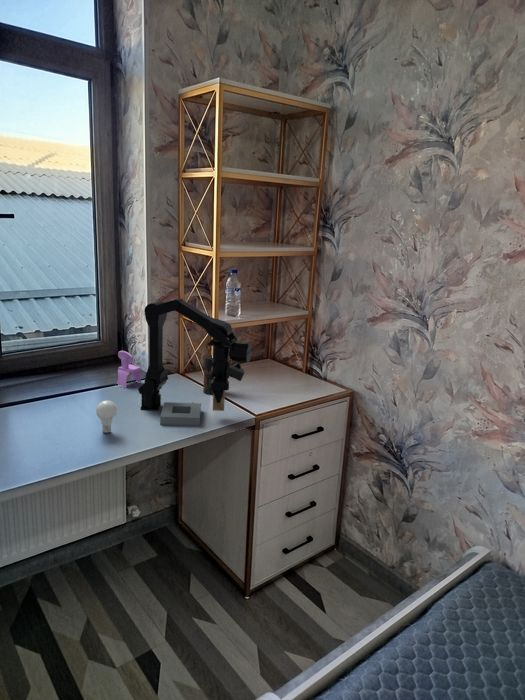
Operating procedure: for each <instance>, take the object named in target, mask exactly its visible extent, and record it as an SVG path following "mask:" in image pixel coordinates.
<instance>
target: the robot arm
mask: <svg viewBox="0 0 525 700" xmlns="http://www.w3.org/2000/svg"><path fill="white" fill-rule="evenodd" d="M174 311H175V312H177V313H178V314H180V315H182V317H185V318H186V319H188V320H189V321H191V322H193V323H195V324H196V325H198V326H199V327H201V328H203V330H205V332H206V333H207V334H208V336H210V337H211V340H210V341H209V342H207V344H206V345H207V346H209V347H210V346H211V347H212V355H213V358H212V368H211V375H212V377H211V387H210V389H211V390H212V391H213V393H214V396H215V398H216V401H217V403H220V402H221V398H222V395H223V391H224V390H225V391H229V389H230V381H229V379H230V378H232V379H235V380H237V381H239V382H241V381H242V380H243V378H244V375H245V370H244V368H242V366H241V363H246V364H248V363H249V362H250V361H251V358H252V348H251V343H250V342H242V341H239V340H238V338H237V337H236V335H235V334H234V332H233V328H232V327H233V326H232V325H231V324H230V323H229V322H227V321H224V320H221V319H218V318H214V317H211V316H210V315H208V314H207V313H204V312H203V311H202V310H200V309H198V308H197V307H195V306H193V305H192V304H190V303H188V302H186V301H185V300H184V299H183V298H181V297H177V298H174V299H172V300H168V301H165V302H163V301H162V300H156V301H153V302H151V303H149V304H146V306H145V308H144V311H143V312H144V316H145V321H146V324H147V325H148V329H149V331H148V334H149V338H148V346H149V347H148V352H149V353H148V354H149V355H148V357H149V358H148V368H147V370H146V373H145V376H144V383H143V384H141V385H140V386H139V387H138V389H137V390H138V393H139V394H140V395H141V400H140V401H141V403H140V404H141V406H140V410H143V411H144V410H146V411H158V410H159V409H160V407H161V405H162V394H161V391H160V390H161V389H162V388H163V386H164V385H165V384H167V381H168V380H169V377H168V372H169V369H168V368H165V367H164V366H163V351H164V349H163V345H164V344H163V339H164V337H163V336H164V334H163V333H164V330H163V329H164V328H163V327H164V325H165V322H166V320H167V315H168V313H171V312H174ZM230 360H232V361H233V362H236V363H234V364H231V363H230ZM240 362H241V363H240Z"/></svg>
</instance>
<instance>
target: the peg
mask: <svg viewBox="0 0 525 700" xmlns="http://www.w3.org/2000/svg"><path fill="white" fill-rule="evenodd" d="M225 394H226V390H224V391H223V395H222V398H221V402H220V403H217V401H216V398H215V396H214V393H213V395H212V397H213V398H212V411H213V412H214V411H217V412H218V411H219V412H224V411H225V400H226V399H225V397H226V395H225Z"/></svg>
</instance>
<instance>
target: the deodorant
mask: <svg viewBox="0 0 525 700" xmlns="http://www.w3.org/2000/svg"><path fill="white" fill-rule="evenodd" d="M212 355H213V354H211V355H209V354H208V355H204V365H203V389H202V391H203V394H205V395H210V396H213V391H212V390H211V389H210V387H211V377H212V375H211V368H212Z"/></svg>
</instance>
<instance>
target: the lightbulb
mask: <svg viewBox="0 0 525 700" xmlns="http://www.w3.org/2000/svg"><path fill="white" fill-rule="evenodd" d="M117 410H118V409H117V405H116V403H114V402H113V401H111V400H107V399H106V400H102V401H100V402H99V403H98V404H97V406H96V408H95V412H96V416H97V417H98V419H99V420H100V422H101V425H102V426H101V427H102V433H104V434H108V433H111V432H112V423H113V419H114V418H115V416H116V415H117Z"/></svg>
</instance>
